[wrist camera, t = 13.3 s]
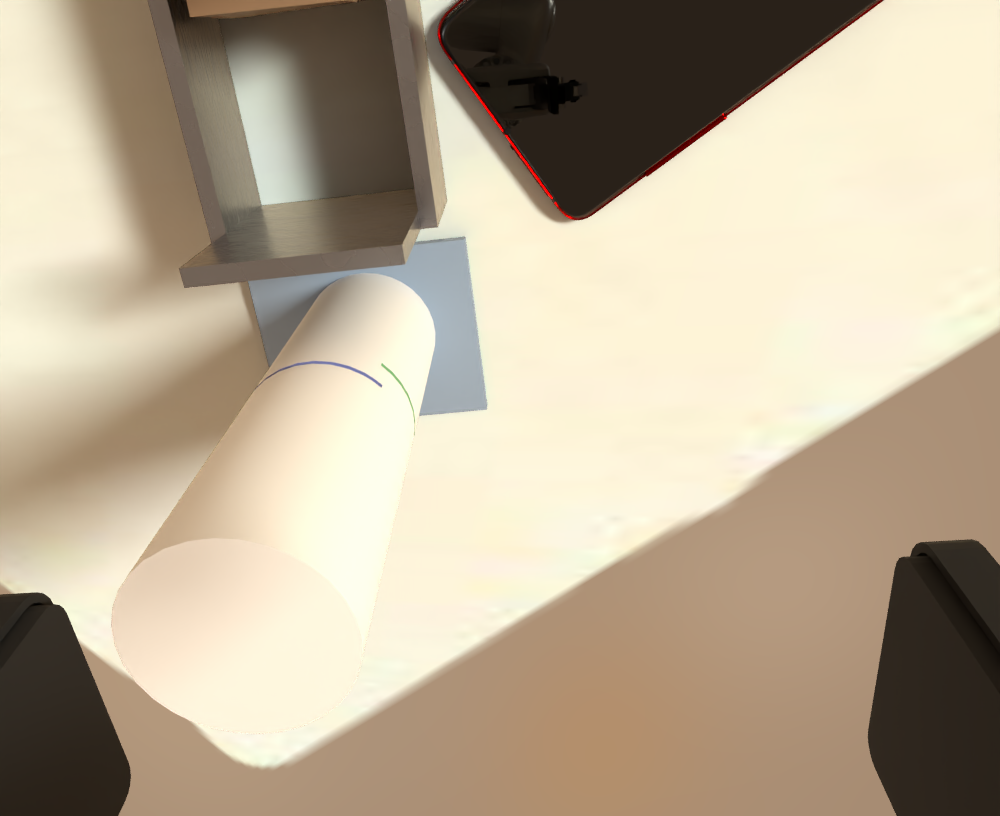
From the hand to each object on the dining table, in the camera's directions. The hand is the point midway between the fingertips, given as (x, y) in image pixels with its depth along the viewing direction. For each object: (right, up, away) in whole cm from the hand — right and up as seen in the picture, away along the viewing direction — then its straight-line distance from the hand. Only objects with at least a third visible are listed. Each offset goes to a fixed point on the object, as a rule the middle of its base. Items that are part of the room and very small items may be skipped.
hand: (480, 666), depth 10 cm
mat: (-7, +7, +37) cm, 39 cm away
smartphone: (+10, +24, +30) cm, 40 cm away
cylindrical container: (-7, +7, +37) cm, 38 cm away
